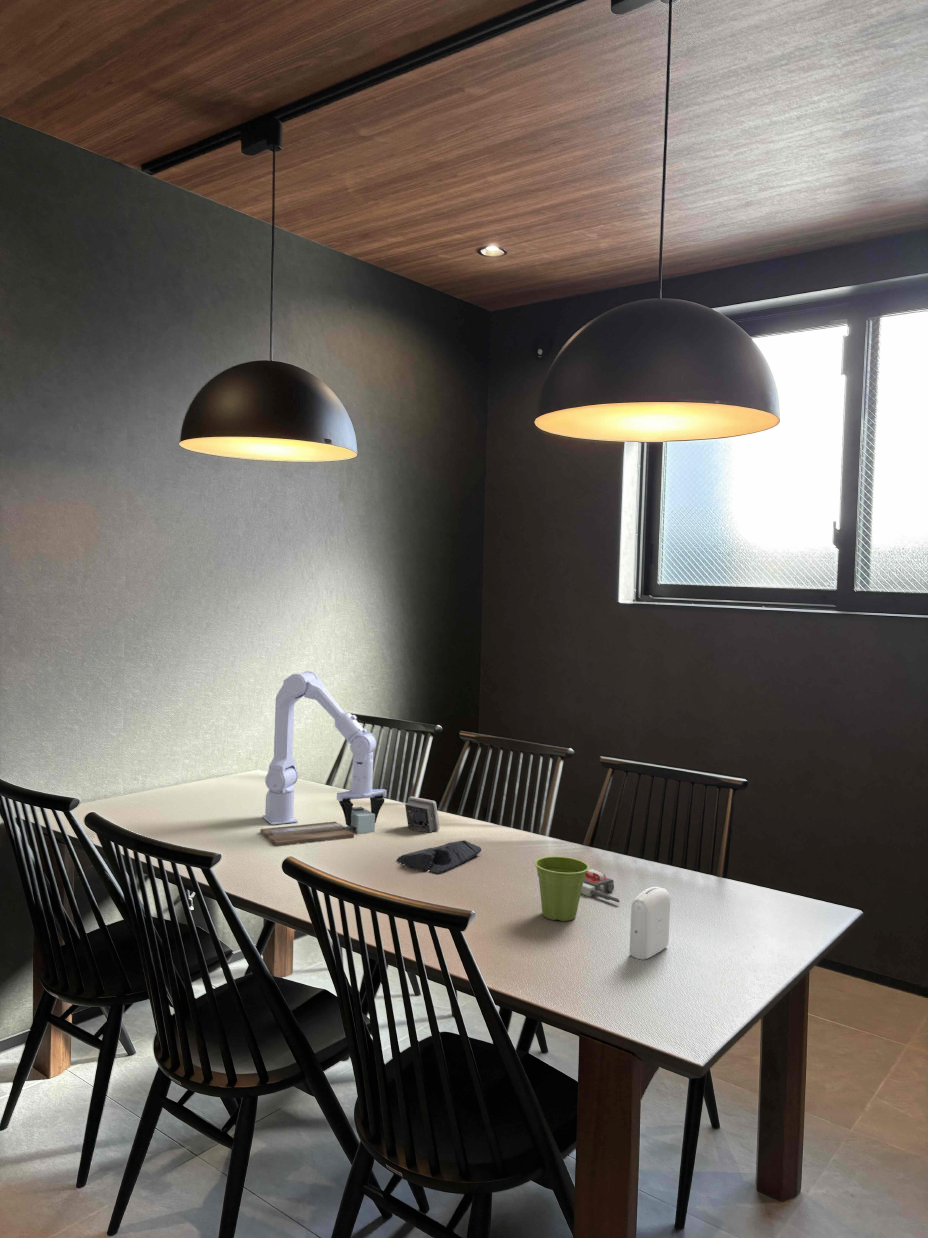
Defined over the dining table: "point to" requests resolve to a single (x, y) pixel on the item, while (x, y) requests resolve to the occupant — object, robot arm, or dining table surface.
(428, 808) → the electrical switch
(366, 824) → the module
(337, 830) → the rail board
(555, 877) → the plant pot
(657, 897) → the photo printer
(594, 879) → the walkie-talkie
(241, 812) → the dining table surface
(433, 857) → the dark slate chunk
